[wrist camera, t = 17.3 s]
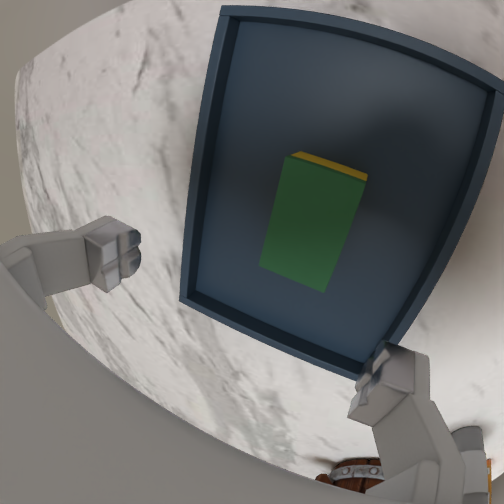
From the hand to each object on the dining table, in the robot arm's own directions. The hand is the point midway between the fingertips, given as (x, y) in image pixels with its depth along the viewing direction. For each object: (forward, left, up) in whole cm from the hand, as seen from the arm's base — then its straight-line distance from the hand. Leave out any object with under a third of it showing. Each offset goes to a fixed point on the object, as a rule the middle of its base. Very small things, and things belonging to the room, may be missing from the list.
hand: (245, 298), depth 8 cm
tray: (+1, 0, -13) cm, 13 cm away
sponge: (+1, 0, -12) cm, 12 cm away
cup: (+19, +26, -13) cm, 34 cm away
